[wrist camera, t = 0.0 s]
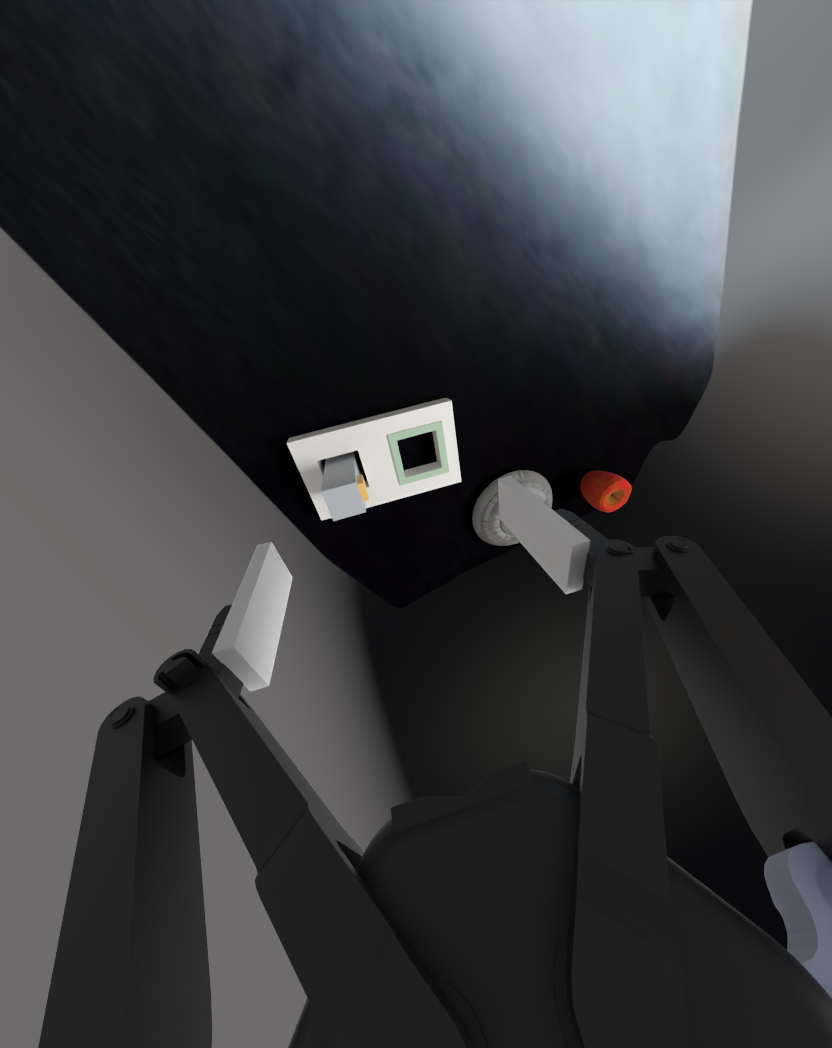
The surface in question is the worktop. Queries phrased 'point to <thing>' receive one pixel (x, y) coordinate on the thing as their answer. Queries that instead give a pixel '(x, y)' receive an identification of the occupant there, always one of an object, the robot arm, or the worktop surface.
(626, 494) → the apple
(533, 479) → the flying saucer
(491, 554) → the worktop surface
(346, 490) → the plug
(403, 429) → the panel
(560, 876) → the robot arm
